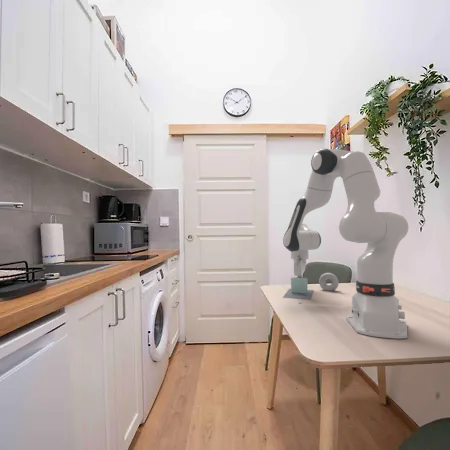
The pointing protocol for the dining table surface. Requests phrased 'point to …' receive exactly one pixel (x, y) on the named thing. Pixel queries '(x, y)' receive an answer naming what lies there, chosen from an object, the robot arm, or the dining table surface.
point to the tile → (299, 285)
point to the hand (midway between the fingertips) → (300, 282)
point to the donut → (332, 277)
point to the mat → (299, 295)
